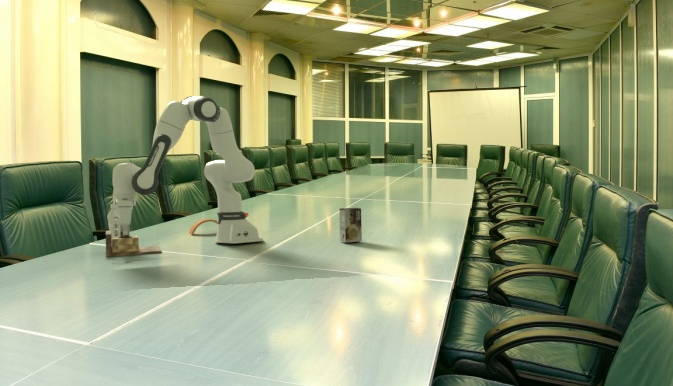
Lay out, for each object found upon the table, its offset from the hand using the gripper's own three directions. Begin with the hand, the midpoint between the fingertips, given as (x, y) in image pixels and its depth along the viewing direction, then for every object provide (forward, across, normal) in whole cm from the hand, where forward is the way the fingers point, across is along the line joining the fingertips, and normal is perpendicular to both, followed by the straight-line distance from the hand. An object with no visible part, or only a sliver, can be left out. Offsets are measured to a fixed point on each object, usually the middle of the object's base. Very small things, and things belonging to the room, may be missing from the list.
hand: (125, 234), depth 207 cm
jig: (+8, 0, +3) cm, 8 cm away
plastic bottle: (+8, -18, -4) cm, 20 cm away
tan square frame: (+7, 0, 0) cm, 7 cm away
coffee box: (+8, +11, +100) cm, 101 cm away
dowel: (+5, 0, 0) cm, 5 cm away
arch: (+8, -38, +41) cm, 56 cm away
